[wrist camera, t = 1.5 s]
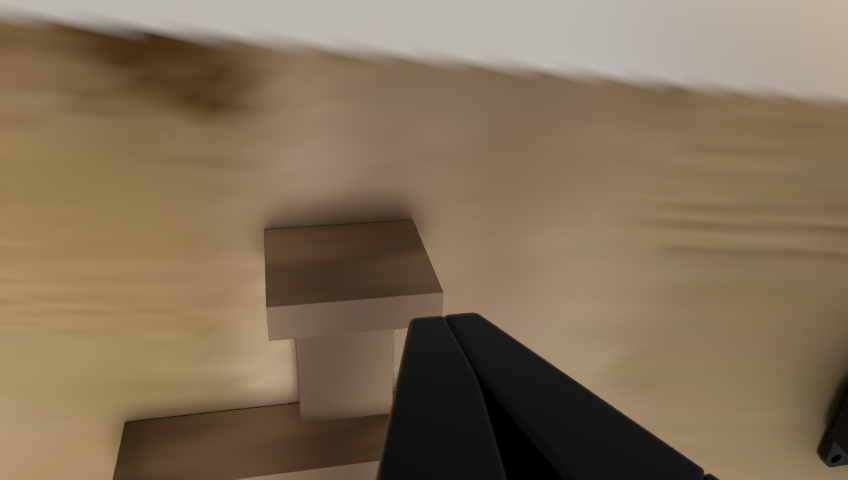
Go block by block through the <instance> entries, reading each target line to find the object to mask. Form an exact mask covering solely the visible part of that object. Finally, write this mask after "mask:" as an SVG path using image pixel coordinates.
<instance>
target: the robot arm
mask: <svg viewBox="0 0 848 480" xmlns="http://www.w3.org/2000/svg"><path fill="white" fill-rule="evenodd" d="M819 457H820V459H821V460H822V461H823V462H824V463H825V464H826V466H828V467H835V466H842V465H848V388H847V391H846V393H845V395H844V398H843V400H842V402H841V405H840V407H839V410H838V412H837V414H836V417H835V419H834V421H833V424H832V426H831V428H830V431H829V433H828V435H827V438H826V440H825V442H824V445H823V447H822V449H821V452H820V455H819ZM376 480H719V479H718V478H716V477H715V476H713V475H712V474H706V475H705V476H704V470H703V469H702V468H701V467H700V466H698V465H697V464H695V463H694V462H692V461H691V460H690V459H688V458H687V457H685V456H684V455H682V454H681V453H679V452H678V451H677V450H675V449H674V448H672V447H671V446H669V445H668V444H666V443H665V442H664V441H662V440H661V439H659V438H658V437H656V436H655V435H653V434H652V433H650V432H649V431H648V430H646V429H645V428H643V427H642V426H640V425H639V424H637V423H636V422H635V421H633V420H632V419H630V418H629V417H627V416H626V415H624V414H623V413H621V412H620V411H619V410H617V409H616V408H614V407H613V406H611V405H610V404H608V403H607V402H606V401H604V400H603V399H601V398H600V397H598V396H597V395H595V394H594V393H592V392H591V391H590V390H588V389H587V388H585V387H584V386H582V385H581V384H579V383H578V382H577V381H575V380H574V379H572V378H571V377H569V376H568V375H566V374H565V373H564V372H562V371H561V370H559V369H558V368H556V367H555V366H553V365H552V364H550V363H549V362H548V361H546V360H545V359H543V358H542V357H540V356H539V355H537V354H536V353H535V352H533V351H532V350H530V349H529V348H527V347H526V346H524V345H523V344H521V343H520V342H519V341H517V340H516V339H514V338H513V337H511V336H510V335H508V334H507V333H506V332H504V331H503V330H501V329H500V328H498V327H497V326H495V325H494V324H493V323H491V322H490V321H488V320H487V319H485V318H484V317H482V316H481V315H479V314H477V313H461V314H451V315H446V316H445V317H443V316H429V317H418V318H413V319H411V321H410V322H409V326H408V331H407V336H406V340H405V345H404V350H403V354H402V359H401V364H400V368H399V373H398V378H397V382H396V387H395V391H394V396H393V401H392V405H391V410H390V415H389V419H388V424H387V429H386V433H385V438H384V442H383V447H382V452H381V456H380V461H379V466H378V470H377V475H376Z"/></svg>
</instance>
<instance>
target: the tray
mask: <svg viewBox="0 0 848 480" xmlns="http://www.w3.org/2000/svg"><path fill="white" fill-rule="evenodd" d="M264 248H265V283H266V311H267V322H268V334H269V341H273V340H283V339H294V338H295V339H296V355H297V371H298V387H299V403H294V404H286V405H277V406H268V407H259V408H250V409H241V410H232V411H223V412H214V413H205V414H197V415H188V416H179V417H170V418H161V419H152V420H143V421H134V422H125V425H124V430H123V434H122V439H121V444H120V448H119V453H118V457H117V462H116V467H115V471H114V476H113V480H376V475H377V470H378V466H379V461H380V456H381V452H382V447H383V442H384V438H385V433H386V429H387V424H388V419H389V415H390V410H391V405H392V401H393V396H394V392H393V348H394V329H400V328H408V326H409V322H410V321H411V319H413V318H418V317H429V316H442V305H443V291H442V288H441V286H440V284H439V281H438V279H437V276H436V274H435V272H434V269H433V267H432V264H431V262H430V260H429V257H428V255H427V253H426V250H425V248H424V245H423V243H422V241H421V238H420V236H419V233H418V231H417V229H416V226H415V224H414V222H413V220H408V221H392V222H376V223H361V224H345V225H329V226H314V227H298V228H282V229H267V230H264Z"/></svg>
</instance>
